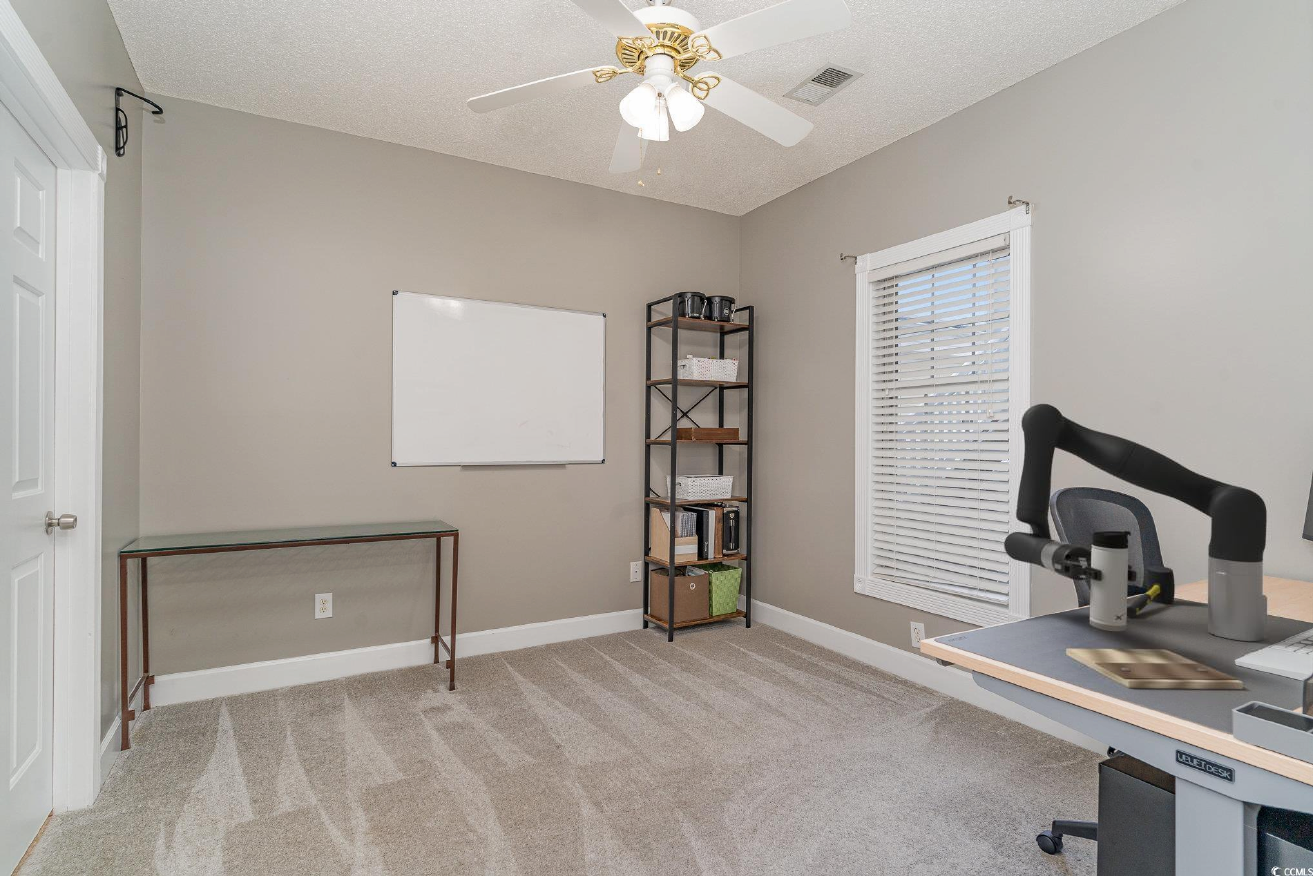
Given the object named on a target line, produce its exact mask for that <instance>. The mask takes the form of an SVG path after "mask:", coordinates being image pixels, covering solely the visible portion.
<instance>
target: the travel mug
mask: <svg viewBox="0 0 1313 876" xmlns="http://www.w3.org/2000/svg"><path fill="white" fill-rule="evenodd" d="M1128 536H1130V537H1131V536H1132V533H1131V531H1130V530H1124V531H1120V530H1119V531H1116V530H1113V531H1112V530H1111V531H1109V530H1108V531H1107V530H1105V531H1103V530H1102V531H1095V532H1093V533H1092V536H1091V537H1092V538H1091V540H1092V542H1091V567H1092V568H1095V569H1098V570H1101V571H1102V580H1101V581H1096V580H1093V579H1090V591H1089V592H1090V596H1089V598H1090V599H1089V625H1090V626H1092V627H1094V628H1096V629H1099V630H1103V631H1109V632H1124V631H1126V630H1127V618H1128V617H1127V607H1128V582H1129V581H1128V565H1129V539H1128V538H1129V537H1128Z"/></svg>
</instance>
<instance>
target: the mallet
mask: <svg viewBox="0 0 1313 876" xmlns="http://www.w3.org/2000/svg"><path fill="white" fill-rule="evenodd" d="M1175 583H1176V582H1175V576H1174V570H1173V569H1172V568H1170V567H1166V566H1162V565H1161V566H1158V565H1156V566H1155V565H1153V566H1149V567H1147V572H1146V592H1145V593H1143V594H1142V595H1141V596H1140V597H1138V598H1137V599H1136V600H1134V602H1133V603H1132V604H1130V605H1129V606H1127V618H1129V619H1133V618H1135V617H1136V615H1137V614H1139V613H1140V612H1141V611H1142V610H1143V609H1145V608H1146V606H1147V605H1148V604H1149V603H1150V602H1152V603H1155V604H1162V605H1170V604H1173V603H1174V602H1175V593H1176V592H1175V589H1176V584H1175Z"/></svg>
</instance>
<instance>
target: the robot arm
mask: <svg viewBox="0 0 1313 876" xmlns="http://www.w3.org/2000/svg"><path fill="white" fill-rule="evenodd" d="M1021 429H1022V432H1023V437H1024V438H1023V439H1024V455H1023V456H1024V457H1023V466H1022V471H1021V476H1020V483H1019V487H1018V493H1017V494H1018V495H1017V502H1016V511H1015V516H1016V519H1017V520H1018V521H1019V522H1021V523H1024V524H1027V525H1029V526H1030V528H1031V531H1032V533H1030V532H1024V531H1013V532H1010V533H1009V534H1008V535H1007V536H1006V538H1005V539H1004V543H1003V547H1004V551H1005V553H1006V554H1007V555H1008V557H1010V558H1011V559H1013V560H1015V561H1019V562H1021V563H1022V562H1023V563H1027V564H1032V565H1036V566H1039V567H1042V568H1044V569H1047V570H1049V571H1051V572H1053V573H1055V574H1057V575H1059V576H1062V577H1064V578H1067V579H1070V580H1073V581H1085V580H1087V579H1090V580H1091V579H1093V580H1096V581H1101V580H1102V571H1101V570H1098V569H1095V568H1092V567H1091V552H1092V550H1090V549H1088V548H1086V547H1084V546H1082V545H1077V544H1072V543H1069V542H1066V541H1059V540H1055V539H1052V535H1051V530H1050V524H1049V512H1050V510H1049V509H1050V501H1051V489H1052V488H1051V487H1052V471H1053V470H1052V469H1053V463H1054V462H1053V461H1054V455H1055V450H1056V449H1058V450H1062V451H1064V452H1067V453H1069V454H1072V455H1073V456H1076V457H1078V458H1079V459H1081V460H1083V461H1085V462H1086V463H1088V464H1090V465H1091V466H1093V467H1095V468H1097V469H1098V470H1099V469H1100V471H1101V470H1102V471H1103V472H1106V473H1107V474H1109V475H1111V476H1113V477H1116V478H1118V479H1119V480H1122V481H1124V482H1126V483H1128V484H1130V485H1134V486H1136V487H1138V488H1141V489H1144V490H1146V491H1149V492H1154V493H1157V494H1159V495H1164V496H1166V497H1169V498H1173V499H1174V500H1177V501H1179V502H1182V503H1184V504H1186V505H1188V506H1190V507H1192V508H1193V509H1196V510H1197V511H1199V512H1201V513H1202V514H1204V515H1206V516H1208V517H1209V518H1210V519H1211V522H1210V525H1211V529H1210V539H1209V543H1208V550H1207V551H1208V553H1207V554H1208V560H1207V563H1208V565H1207V566H1208V567H1207V568H1208V569H1207V570H1208V571H1207V573H1208V574H1207V579H1208V581H1207V632H1208V633H1209V634H1210V635H1211V634H1212V635H1213V634H1214V636H1217V637H1219V638H1220V637H1221V638H1226V639H1230V640H1236V641H1243V642H1244V641H1245V642H1259V641H1262V640H1267V639H1268V635H1267V634H1268V596H1267V595H1266V594H1264V593H1263V590H1264V589H1263V588H1264V587H1263V586H1264V585H1263V584H1264V579H1263V577H1264V575H1263V572H1264V571H1263V570H1264V569H1263V568H1264V552H1265V549H1266V543H1267V519H1268V518H1267V517H1268V514H1267V512H1268V511H1267V505H1266V503H1265V501H1264V499H1263V498H1262V497H1261V496H1260V495H1259V494H1258V493H1256V492H1255V491H1253V490H1251V489H1248V488H1243V487H1241V486H1236V485H1234V484H1229V483H1226V482H1222V481H1220V480H1217V479H1214V478H1211V477H1208V476H1204V475H1203V474H1200V473H1198V472H1195V471H1192V470H1191V469H1189V468H1187V467H1185V466H1183V464H1180V463H1178V462H1177V461H1176V460H1173V459H1172V458H1170V457H1168V456H1166V455H1164V454H1162V453H1161V452H1159V451H1157V450H1154V449H1152V448H1149V447H1148V446H1145V445H1142V444H1139V443H1138V442H1135V441H1133V440H1129V439H1127V438H1124V437H1120V436H1119V435H1118V436H1117V435H1114V434H1110V433H1107V432H1102V431H1099V430H1094V429H1091V428H1088V427H1086V426H1084V425H1081V424H1079V423H1077V422H1076V421H1074V420H1071V419H1069V418H1067V417H1066V416H1064V415H1063V414H1062V413H1061V411H1060V410H1059V409H1058V408H1057V407H1056V406H1054V405H1051V404H1048V403H1039V404H1035V405H1032V406H1031V407H1029V408H1028V409H1027V410H1026V411H1025V412H1024V414H1023V415H1022V418H1021ZM1136 580H1137V571H1136V570H1133V566H1132V565H1131V564H1128V582H1136Z"/></svg>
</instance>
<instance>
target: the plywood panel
mask: <svg viewBox="0 0 1313 876" xmlns="http://www.w3.org/2000/svg"><path fill="white" fill-rule="evenodd" d="M1065 649H1066V650H1065V654H1067V655H1066V656H1069V657H1070V658H1072V659H1074V660H1076V661H1077V662H1080V663H1081V664H1082V665H1085V666H1087V667H1089V668H1091V669H1092V670H1094V671H1097V673H1100V674H1102V675H1104V676H1106V678H1110V680H1113V681H1115V682H1116V683H1119V684H1120V685H1122V686H1124V687H1126V688H1127V689H1190V690H1191V689H1200V690H1203V689H1206V690H1207V689H1209V690H1210V689H1211V690H1217V689H1218V690H1221V689H1222V690H1243V688H1244V687H1243V681H1241V680H1238V678H1237V677H1234V676H1231V675H1230V674H1227V673H1224V672H1222V671H1220V670H1217V669H1215V668H1213V667H1210V666H1208V665H1205V664H1204V663H1198V662H1197V661H1194V660H1192V659H1189V658H1186V657H1184V656H1183V655H1179V654H1178V653H1174V652H1172V651H1170V650H1167V649H1165V648H1164V649H1161V648H1160V649H1159V648H1158V649H1156V648H1155V649H1154V648H1147V649H1145V648H1142V649H1141V648H1139V649H1138V648H1065Z"/></svg>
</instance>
